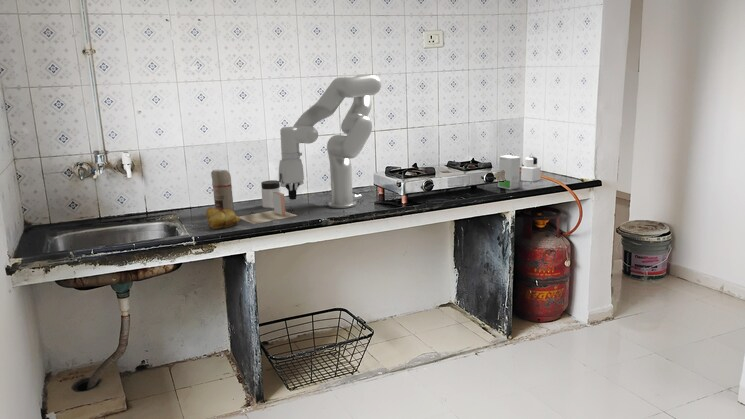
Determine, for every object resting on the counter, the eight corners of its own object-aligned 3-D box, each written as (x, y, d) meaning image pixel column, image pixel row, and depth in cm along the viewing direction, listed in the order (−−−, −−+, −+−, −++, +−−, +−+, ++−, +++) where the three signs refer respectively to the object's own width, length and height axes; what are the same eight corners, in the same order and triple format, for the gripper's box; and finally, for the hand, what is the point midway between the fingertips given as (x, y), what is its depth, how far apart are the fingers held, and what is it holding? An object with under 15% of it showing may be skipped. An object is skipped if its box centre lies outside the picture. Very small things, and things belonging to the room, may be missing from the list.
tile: (277, 212, 265) (276, 191, 263) (285, 215, 259) (284, 194, 257) (274, 212, 264) (272, 192, 262) (282, 215, 258) (280, 194, 256)
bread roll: (238, 222, 256) (236, 203, 254) (242, 227, 247) (241, 207, 245) (206, 226, 251) (204, 206, 249) (209, 231, 242) (207, 211, 240)
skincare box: (498, 187, 305) (498, 156, 302) (507, 185, 309) (507, 154, 305) (511, 189, 299) (511, 157, 295) (520, 187, 302) (520, 156, 299)
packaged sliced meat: (279, 211, 270) (279, 209, 270) (297, 218, 258) (297, 215, 257) (237, 219, 259) (236, 216, 259) (253, 226, 246) (253, 224, 246)
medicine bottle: (529, 178, 325) (529, 155, 322) (540, 180, 320) (541, 157, 317) (520, 180, 321) (521, 157, 318) (532, 182, 315) (532, 158, 313)
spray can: (211, 214, 270) (207, 169, 265) (228, 211, 275) (224, 166, 270) (220, 217, 264) (216, 171, 259) (237, 214, 269) (233, 168, 264)
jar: (266, 211, 272) (264, 184, 270) (259, 208, 279) (257, 182, 276) (285, 208, 277) (283, 181, 274) (277, 205, 284) (275, 179, 281)
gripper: (301, 153, 267) (303, 195, 271) (270, 157, 259) (272, 200, 263) (310, 155, 261) (312, 198, 265) (278, 159, 253) (281, 203, 257)
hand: (292, 199), depth 264 cm, fingers closed
